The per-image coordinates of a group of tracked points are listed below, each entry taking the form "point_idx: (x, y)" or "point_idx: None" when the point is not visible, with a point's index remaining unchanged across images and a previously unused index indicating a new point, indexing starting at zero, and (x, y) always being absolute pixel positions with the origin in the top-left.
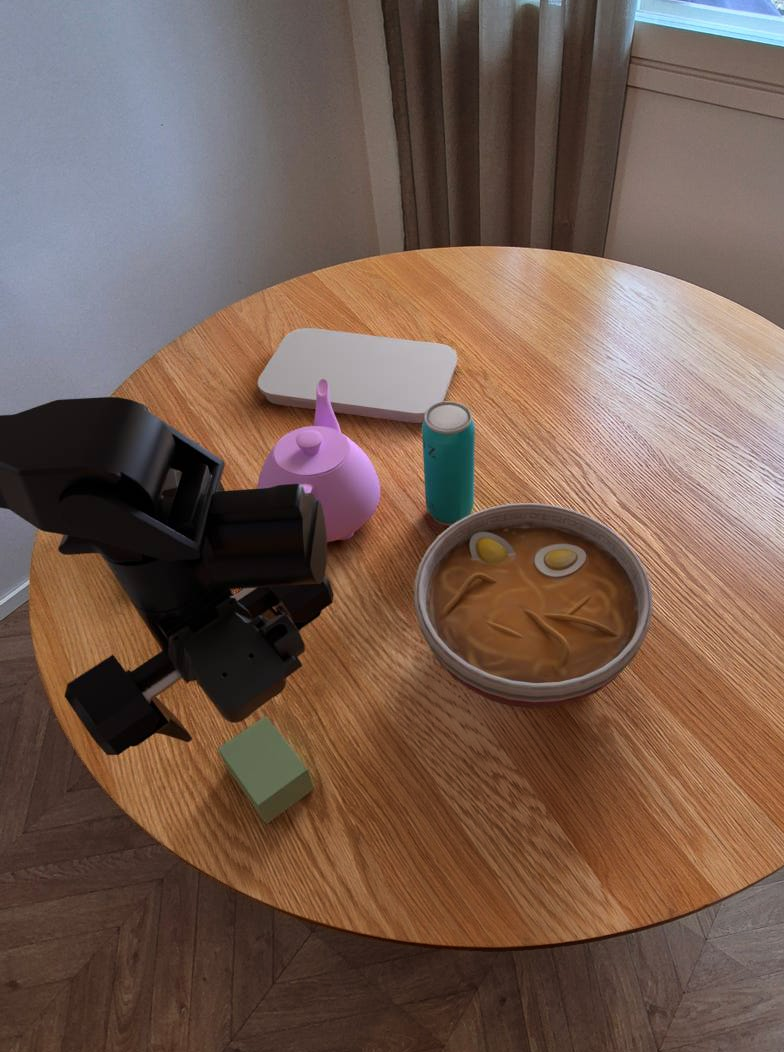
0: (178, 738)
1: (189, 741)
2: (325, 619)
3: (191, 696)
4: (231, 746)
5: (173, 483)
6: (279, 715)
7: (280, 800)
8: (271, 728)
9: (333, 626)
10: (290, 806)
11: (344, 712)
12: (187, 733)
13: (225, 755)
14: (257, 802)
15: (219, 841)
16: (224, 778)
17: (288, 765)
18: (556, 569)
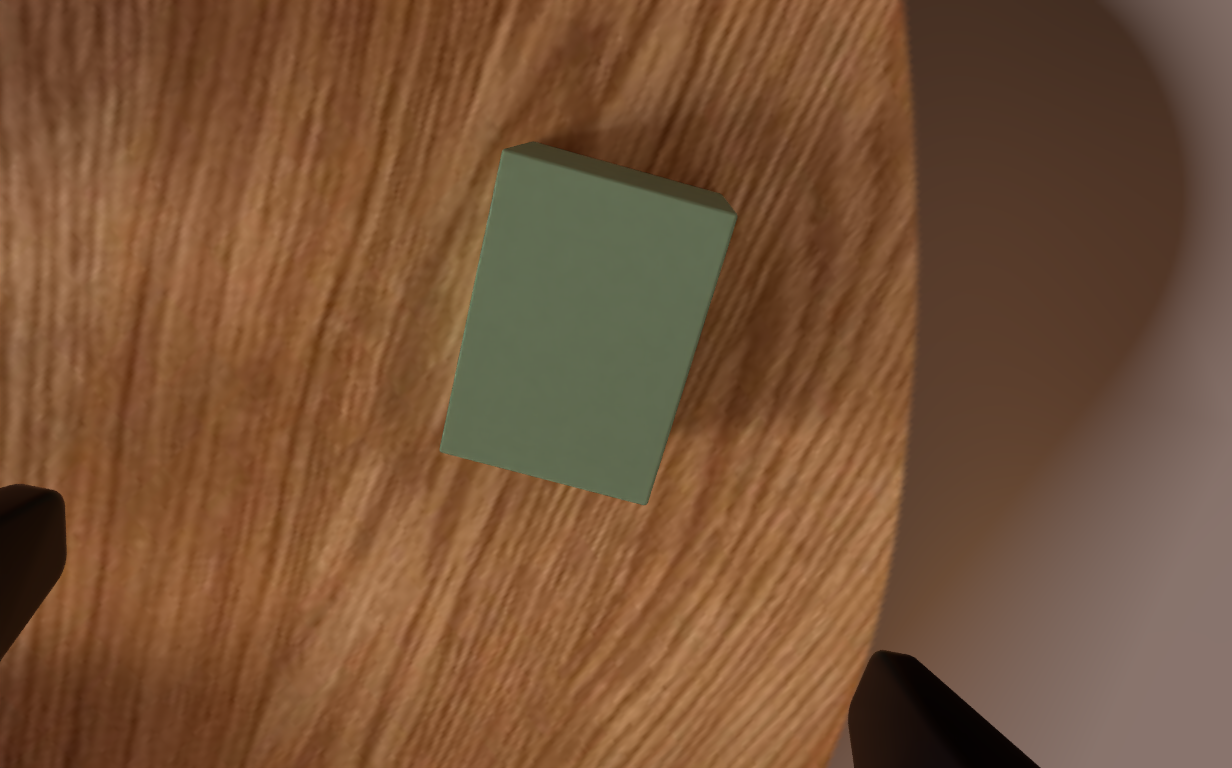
0: (1027, 759)
1: (902, 654)
2: None
3: (535, 684)
4: (610, 469)
5: None
6: (409, 429)
7: (651, 182)
8: (464, 397)
9: None
10: (628, 168)
11: (252, 251)
12: (943, 730)
13: (650, 462)
14: (729, 224)
15: (848, 287)
16: (677, 423)
17: (538, 230)
18: None
